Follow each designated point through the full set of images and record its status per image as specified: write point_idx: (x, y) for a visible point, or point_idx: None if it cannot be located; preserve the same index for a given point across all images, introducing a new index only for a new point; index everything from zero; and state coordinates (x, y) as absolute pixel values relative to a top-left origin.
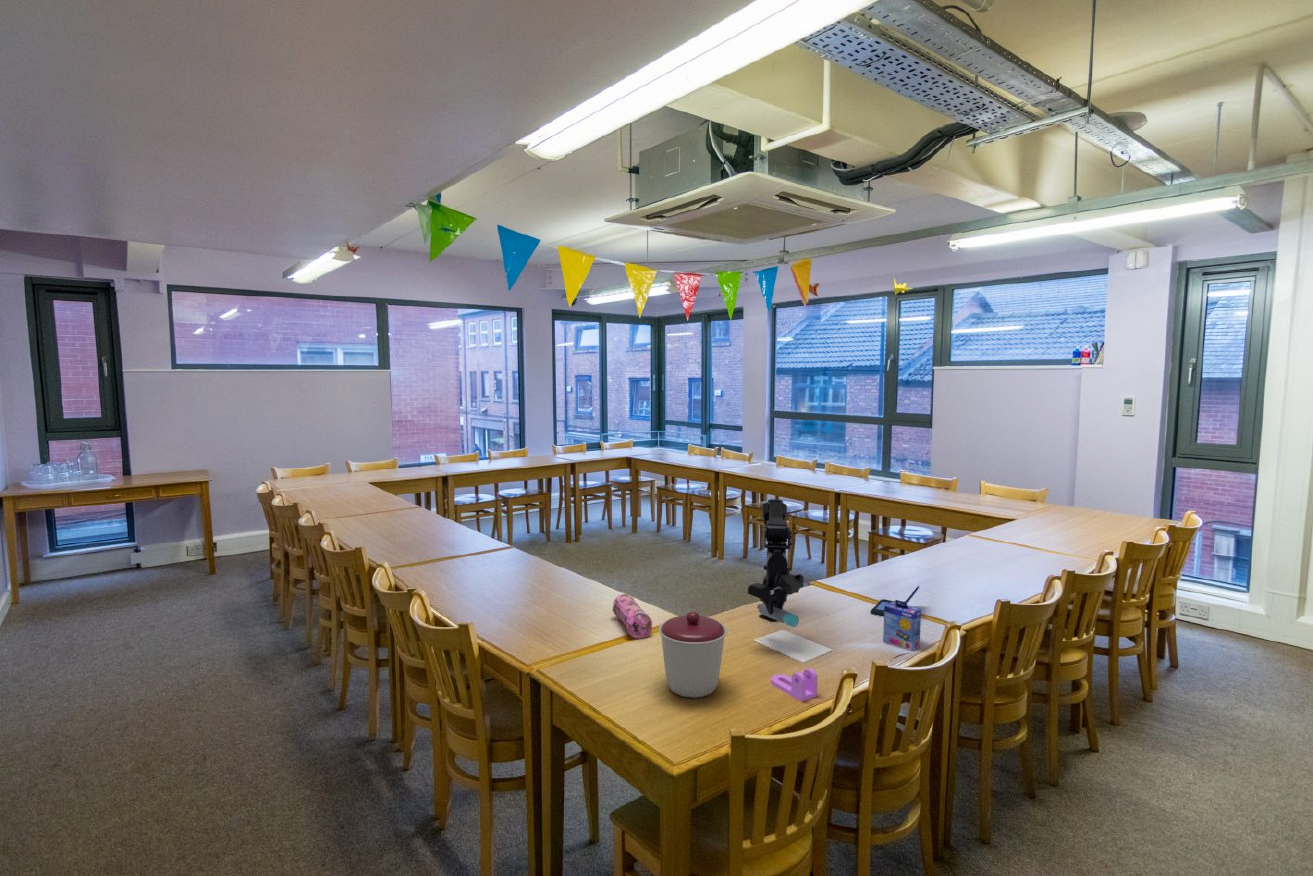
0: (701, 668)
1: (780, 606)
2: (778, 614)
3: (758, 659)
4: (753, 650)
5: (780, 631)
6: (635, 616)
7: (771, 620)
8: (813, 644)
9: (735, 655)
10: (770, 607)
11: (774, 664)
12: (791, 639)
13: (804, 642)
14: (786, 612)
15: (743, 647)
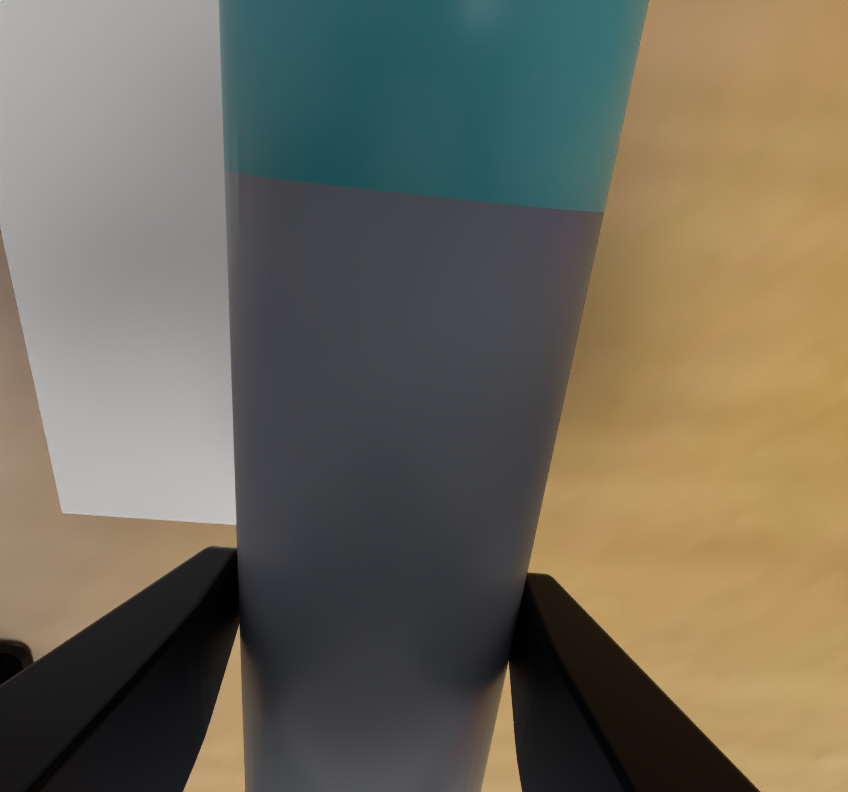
0: None
1: (178, 663)
2: (552, 428)
3: (763, 271)
4: (612, 422)
5: (107, 502)
6: None
7: (22, 663)
8: (23, 74)
9: (806, 457)
10: (711, 764)
11: (778, 70)
12: (148, 330)
13: (80, 187)
14: (446, 210)
15: (616, 509)
